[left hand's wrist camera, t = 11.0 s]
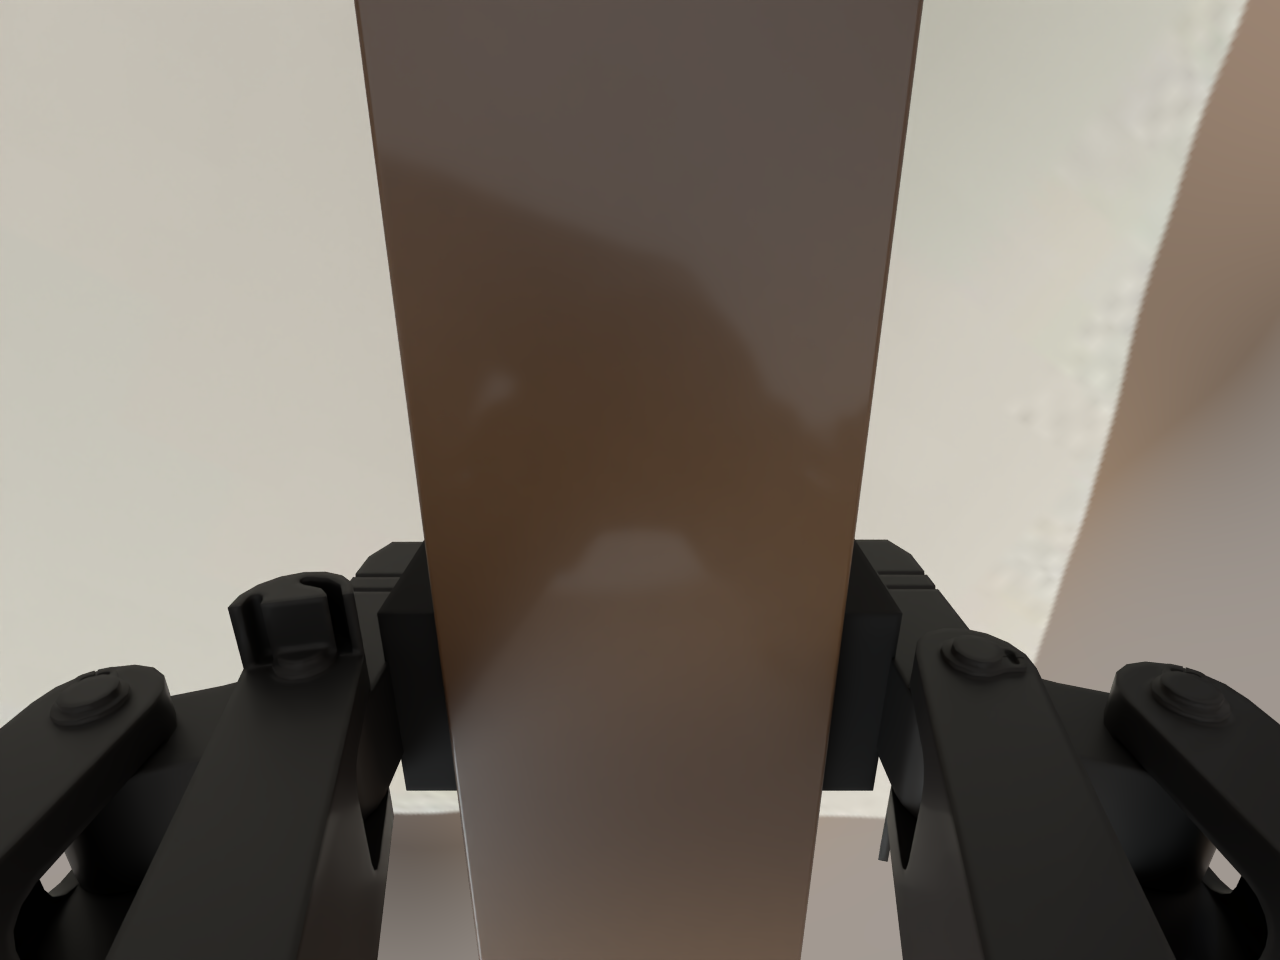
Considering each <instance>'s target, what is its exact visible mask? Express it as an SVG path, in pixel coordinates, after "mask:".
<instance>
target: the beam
mask: <svg viewBox="0 0 1280 960" xmlns="http://www.w3.org/2000/svg"><path fill="white" fill-rule="evenodd" d="M354 3H355V11H356V19H357V26H358V34H359V42H360V49H361V57H362V65H363V72H364V80H365V88H366V95H367V103H368V111H369V118H370V126H371V134H372V141H373V149H374V157H375V164H376V172H377V180H378V187H379V195H380V203H381V210H382V218H383V226H384V234H385V241H386V249H387V257H388V264H389V272H390V280H391V287H392V295H393V303H394V310H395V318H396V326H397V333H398V341H399V349H400V356H401V364H402V372H403V379H404V387H405V395H406V402H407V410H408V418H409V425H410V433H411V441H412V448H413V456H414V464H415V471H416V479H417V487H418V494H419V502H420V510H421V517H422V525H423V533H424V540H425V548H426V556H427V564H428V571H429V579H430V587H431V594H432V602H433V610H434V617H435V625H436V633H437V640H438V648H439V656H440V663H441V671H442V679H443V686H444V694H445V702H446V709H447V717H448V725H449V732H450V740H451V748H452V755H453V763H454V771H455V778H456V786H457V794H458V801H459V809H460V817H461V824H462V832H463V840H464V847H465V855H466V863H467V870H468V878H469V886H470V894H471V901H472V909H473V917H474V924H475V932H476V940H477V947H478V955H479V960H800V959H801V951H802V943H803V935H804V928H805V920H806V912H807V904H808V896H809V889H810V881H811V873H812V865H813V858H814V850H815V842H816V834H817V826H818V819H819V811H820V803H821V795H822V787H823V780H824V772H825V764H826V756H827V748H828V741H829V733H830V725H831V717H832V709H833V702H834V694H835V686H836V678H837V670H838V663H839V655H840V647H841V639H842V632H843V624H844V616H845V608H846V600H847V593H848V585H849V577H850V569H851V561H852V554H853V546H854V538H855V530H856V522H857V515H858V507H859V499H860V491H861V483H862V476H863V468H864V460H865V452H866V444H867V437H868V429H869V421H870V413H871V405H872V398H873V390H874V382H875V374H876V367H877V359H878V351H879V343H880V335H881V328H882V320H883V312H884V304H885V296H886V289H887V281H888V273H889V265H890V257H891V250H892V242H893V234H894V226H895V218H896V211H897V203H898V195H899V187H900V179H901V172H902V164H903V156H904V148H905V140H906V133H907V125H908V117H909V109H910V102H911V94H912V86H913V78H914V70H915V63H916V55H917V47H918V39H919V31H920V24H921V16H922V8H923V0H354Z"/></svg>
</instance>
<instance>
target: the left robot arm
mask: <svg viewBox="0 0 1280 960" xmlns="http://www.w3.org/2000/svg"><path fill="white" fill-rule="evenodd" d="M228 611H229V614H230V618H231V622H232V626H233V630H234V633H235V637H236V641H237V645H238V649H239V653H240V656H241V660H242V664H243V668H244V669H243V671H242V673H241V676H240V678H239V680H238V682H236V683H232V684H228V685H224V686H219V687H214V688H209V689H204V690H199V691H194V692H189V693H184V694H179V695H174V696H170V693H169V690H168V686H167V683H166V680H165V677H164V675H163V674H162V673H160V672H159V671H158V670H156V669H155V668H153V667H147V666H140V665H129V666H119V667H109V668H104V669H99V670H98V671H96V672H95V671H92V672H89V673H86V674H83V675H80V676H78V677H77V678H75V679H73V680H71V681H69V682H67V683H64V684H62V685H60V686H58V687H55V688H54V689H52V690H51V691H49V692H48V693H46V694H45V695H43V696H42V697H40V698H39V699H37V700H36V701H34V702H33V703H31V704H30V705H29V706H28V707H26V708H25V709H24V710H23V711H21V712H20V713H19V714H18V715H16V716H15V717H14V718H13V719H12V720H10V721H9V722H8V723H7V724H5V725H4V726H3V727H2V728H0V960H377V957H378V949H379V940H380V932H381V923H382V914H383V905H384V897H385V888H386V879H387V871H388V862H389V853H390V845H391V836H392V828H393V819H394V814H393V808H392V801H391V796H390V790H389V786H390V783H391V781H392V779H393V776H394V774H395V772H396V769H397V767H398V765H399V762H400V760H401V761H402V767H403V773H404V778H405V784H406V790H407V791H457V786H456V778H455V771H454V763H453V755H452V748H451V740H450V732H449V725H448V717H447V709H446V702H445V694H444V686H443V679H442V671H441V663H440V656H439V648H438V640H437V633H436V625H435V617H434V610H433V602H432V594H431V587H430V579H429V571H428V564H427V556H426V548H425V540H424V541H423V542H392V543H390V544H389V545H387V546H385V547H384V548H382V549H380V550H379V551H377V552H376V553H374V554H372V555H371V556H369V557H368V558H367V560H366V561H365V562H364V564H363V565H362V566H361V568H360V569H359V570H358V571H357V573H356V577H353V578H352V579H351V580H350V581H349V580H348V579H346V578H345V577H344V576H342V575H338V574H333V573H329V572H303V573H297V574H292V575H287V576H281V577H278V578H275V579H273V580H270V581H267V582H264V583H261V584H259V585H257V586H255V587H253V588H252V589H250V590H248V591H246V592H245V593H243V594H241V595H239V596H238V598H237V599H236V600H235V601H234V602H233V603H232V604H231V605H230V606H229V607H228ZM878 758H880V760H881V762H882V765H883V767H884V769H885V772H886V774H887V776H888V778H889V781H890V783H891V790H890V796H889V801H888V807H887V812H886V818H885V823H884V829H883V835H882V840H881V846H880V852H879V859H878V860H882V861H886V862H887V861H888V856H889V851H890V852H891V860H892V869H893V878H894V887H895V895H896V904H897V912H898V921H899V930H900V938H901V947H902V956H903V960H1280V724H1278V723H1277V722H1276V721H1275V720H1274V719H1272V718H1271V717H1270V716H1268V715H1267V714H1266V713H1265V712H1264V711H1262V710H1261V709H1260V708H1259V707H1257V706H1256V705H1255V704H1254V703H1252V702H1251V701H1250V700H1249V699H1247V698H1246V697H1244V696H1243V695H1241V694H1239V693H1238V692H1236V691H1235V690H1233V689H1232V688H1230V687H1229V686H1227V685H1226V684H1224V683H1221V682H1219V681H1217V680H1215V679H1212V678H1210V677H1208V676H1206V675H1204V674H1203V673H1201V672H1199V671H1196V670H1193V669H1189V668H1186V669H1185V668H1183V667H1182V666H1178V665H1173V664H1163V663H1154V662H1139V663H1132V664H1127V665H1125V666H1124V667H1123V668H1121V669H1120V670H1119V671H1117V672H1116V675H1115V678H1114V681H1113V684H1112V688H1111V691H1110V693H1107V692H1101V691H1096V690H1091V689H1086V688H1081V687H1076V686H1071V685H1065V684H1060V683H1056V682H1052V681H1048V680H1044V679H1042V678H1041V676H1040V674H1039V672H1038V670H1037V668H1036V667H1035V666H1034V664H1033V663H1032V662H1031V660H1030V659H1029V658H1028V657H1027V655H1026V654H1024V653H1023V652H1021V651H1020V650H1018V649H1017V648H1015V647H1014V646H1013V645H1011V644H1010V643H1008V642H1006V641H1003V640H1001V639H999V638H996V637H994V636H991V635H989V634H986V633H982V632H977V631H973V630H969V628H968V627H967V626H966V624H965V623H964V622H963V621H962V619H961V618H960V617H959V615H958V614H957V613H956V612H955V610H954V609H953V608H952V606H951V605H950V604H949V603H948V601H947V600H946V599H945V597H944V596H943V595H942V594H941V592H940V591H939V590H938V589H935V585H934V583H933V582H932V581H931V579H930V578H929V577H928V576H927V575H924V570H923V569H922V568H921V567H920V565H919V564H918V563H917V562H916V560H915V559H914V558H913V556H912V555H911V554H910V553H908V552H906V551H905V550H903V549H901V548H900V547H898V546H897V545H895V544H893V543H892V542H890V541H888V540H855V539H854V546H853V554H852V561H851V569H850V577H849V585H848V593H847V600H846V608H845V616H844V624H843V632H842V639H841V647H840V655H839V663H838V670H837V678H836V686H835V694H834V702H833V709H832V717H831V725H830V733H829V741H828V748H827V756H826V764H825V772H824V780H823V787H822V791H873V788H874V782H875V776H876V770H877V764H878ZM1216 848H1217V849H1218V850H1219V851H1220V852H1221V854H1222V855H1223V856H1224V857H1225V858H1226V859H1227V860H1228V861H1229V862H1230V864H1231V865H1232V866H1233V867H1234V868H1235V869H1236V870H1237V871H1238V872H1239V873H1240V874H1241V878H1240V880H1239V882H1238V884H1237V887H1236V888H1235V889H1234V890H1231V889H1230V888H1229V887H1228V886H1226V885H1225V884H1224V883H1223V882H1222V881H1221V880H1220V879H1219V878H1218V877H1217V876H1216V874H1215V873H1214V872H1213V871H1212V870H1211V869H1210V868H1209V864H1210V862H1211V859H1212V857H1213V855H1214V853H1215V850H1216ZM64 852H65V854H66V856H67V859H68V861H69V863H70V866H71V868H72V870H71V871H70V872H69V873H68V874H67V876H66V877H65V878H64V879H63V880H62V881H61V883H59V884H58V885H57V886H56V887H55V888H53V889H52V890H51V891H50V892H49V893H47V892H46V891H45V890H44V888H43V886H42V884H41V882H40V878H41V877H42V876H43V875H44V874H45V873H46V871H47V870H48V869H49V868H50V867H51V866H52V865H53V864H54V863H55V861H56V860H57V859H58V858H59V857H60V856H61V855H62V854H63V853H64Z"/></svg>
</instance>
